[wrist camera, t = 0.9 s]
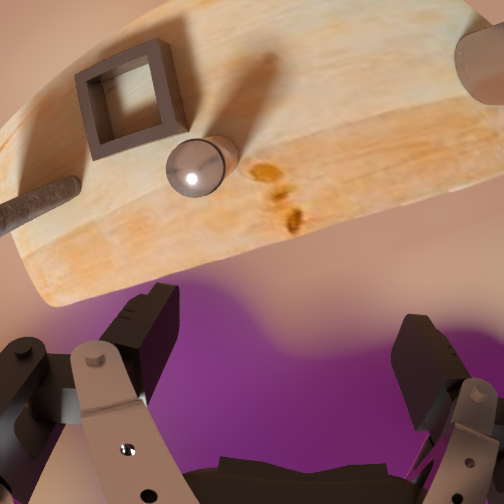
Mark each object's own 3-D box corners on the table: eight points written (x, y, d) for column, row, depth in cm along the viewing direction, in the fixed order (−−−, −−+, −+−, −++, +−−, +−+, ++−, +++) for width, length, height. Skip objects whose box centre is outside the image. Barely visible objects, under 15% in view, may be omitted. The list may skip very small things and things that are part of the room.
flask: (85, 199, 39) (-12, 252, 22) (22, 221, 41) (-61, 270, 25) (77, 173, 37) (-25, 215, 21) (15, 199, 40) (-71, 242, 23)
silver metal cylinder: (234, 129, 33) (215, 133, 25) (244, 174, 35) (229, 192, 27) (190, 140, 34) (158, 148, 26) (200, 183, 36) (172, 204, 28)
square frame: (169, 44, 30) (157, 37, 27) (188, 132, 34) (178, 133, 31) (90, 76, 32) (74, 74, 29) (107, 157, 36) (92, 161, 33)
